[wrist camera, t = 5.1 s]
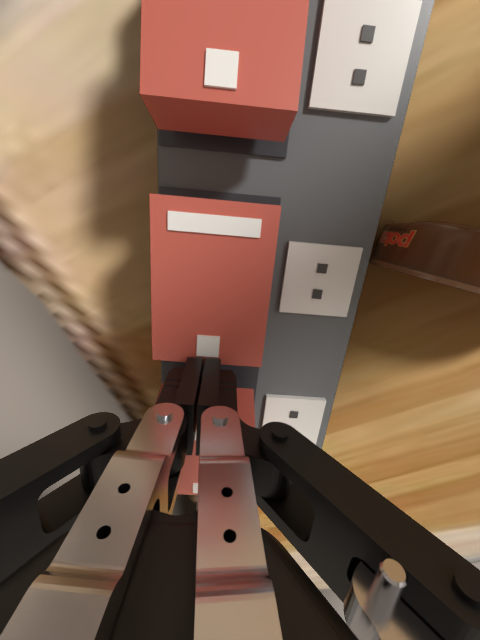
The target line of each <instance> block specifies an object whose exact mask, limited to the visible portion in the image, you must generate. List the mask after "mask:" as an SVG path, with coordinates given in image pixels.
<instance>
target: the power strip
mask: <svg viewBox="0 0 480 640" xmlns="http://www.w3.org/2000/svg"><path fill="white" fill-rule="evenodd" d="M433 4H434V0H309V9H308V18H307V28H306V37H305V47H304V56H303V66H302V75H301V85H300V94H299V104H298V112H297V114H296V116H295V119H294V121H293V123H292V125H291V128H290V130H289V132H288V135H287V137H286V139H285V142H278V141H268V140H258V139H249V138H239V137H229V136H220V135H210V134H201V133H191V132H181V131H172V130H162V129H158V128H157V134H158V194H162V195H173V196H183V197H194V198H205V199H215V200H226V201H237V202H247V203H258V204H269V205H279V206H281V214H280V222H279V230H278V238H277V246H276V254H275V262H274V270H273V278H272V286H271V294H270V302H269V310H268V318H267V326H266V334H265V342H264V350H263V358H262V366H261V367H250V366H236V365H221V368H220V369H221V370H232V371H233V373H234V374H235V375H236V381H237V388H247V389H254V410H255V428H258V429H261V428H262V426H263V425H265V424H267V423H269V422H282V423H286V424H288V425H290V426H292V427H293V428H294V429H296V430H297V431H298V432H300V433H301V434H302V435H304V436H305V437H306V438H308V439H309V440H310V441H311V442H313V443H314V444H315V445H317V446H318V447H319V448H321V449H322V446H323V442H324V438H325V434H326V430H327V426H328V422H329V418H330V414H331V410H332V406H333V402H334V398H335V394H336V390H337V386H338V382H339V378H340V374H341V370H342V366H343V362H344V358H345V354H346V350H347V346H348V342H349V338H350V334H351V330H352V326H353V322H354V318H355V314H356V310H357V306H358V302H359V298H360V294H361V291H362V287H363V283H364V279H365V275H366V271H367V267H368V263H369V259H370V255H371V251H372V247H373V243H374V239H375V235H376V231H377V227H378V223H379V219H380V215H381V211H382V207H383V203H384V199H385V195H386V191H387V187H388V183H389V179H390V175H391V171H392V167H393V163H394V159H395V155H396V151H397V147H398V143H399V139H400V135H401V131H402V127H403V124H404V120H405V116H406V112H407V108H408V104H409V100H410V96H411V92H412V88H413V84H414V80H415V76H416V72H417V68H418V64H419V60H420V56H421V52H422V48H423V44H424V40H425V36H426V32H427V28H428V24H429V20H430V16H431V12H432V8H433ZM185 363H186V362H178V361H163V360H161V385H162V383H164V382H165V379H166V376H167V374H168V372H169V371H170V370H172V369H173V368H174V367H185ZM204 365H205V363H203V371H204Z"/></svg>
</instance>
